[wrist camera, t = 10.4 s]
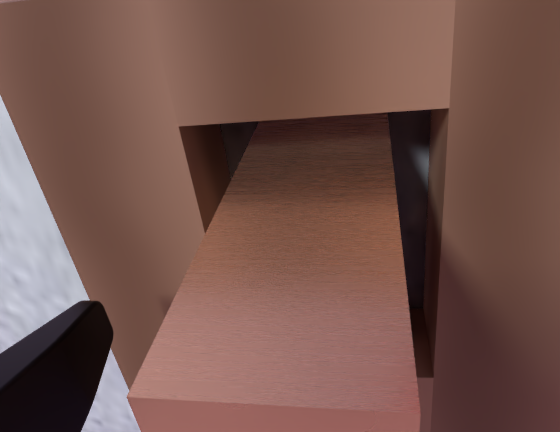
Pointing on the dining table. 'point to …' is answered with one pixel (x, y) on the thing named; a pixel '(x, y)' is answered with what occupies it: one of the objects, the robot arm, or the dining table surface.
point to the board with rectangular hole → (305, 104)
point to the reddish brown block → (292, 295)
